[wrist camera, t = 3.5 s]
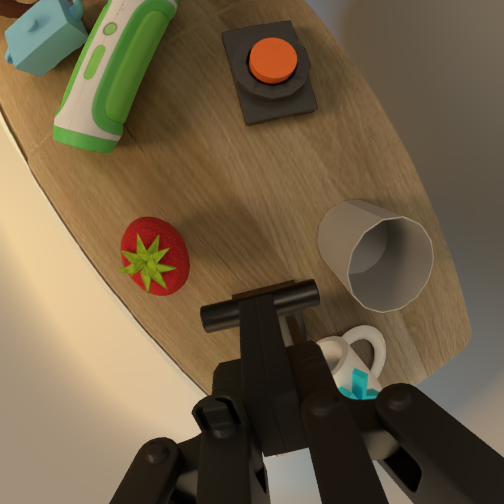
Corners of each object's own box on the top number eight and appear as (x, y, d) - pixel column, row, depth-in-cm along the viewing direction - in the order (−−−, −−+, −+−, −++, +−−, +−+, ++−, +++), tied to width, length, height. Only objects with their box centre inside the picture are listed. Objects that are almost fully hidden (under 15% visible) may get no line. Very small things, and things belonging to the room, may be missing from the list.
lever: (198, 294, 17) (200, 332, 15) (309, 266, 16) (323, 302, 15) (251, 386, 26) (255, 410, 25) (316, 369, 26) (323, 393, 25)
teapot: (102, -7, 24) (77, -35, 17) (118, 24, 25) (93, -3, 18) (24, 53, 25) (-11, 39, 18) (36, 86, 26) (-2, 76, 19)
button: (244, 49, 24) (245, 41, 22) (286, 42, 24) (290, 34, 22) (255, 87, 26) (256, 82, 24) (298, 79, 26) (302, 73, 24)
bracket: (231, 295, 35) (230, 372, 22) (293, 279, 35) (325, 349, 22) (249, 352, 37) (256, 438, 24) (306, 338, 37) (335, 418, 24)
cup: (378, 275, 35) (419, 312, 26) (312, 271, 35) (338, 312, 25) (391, 203, 33) (441, 222, 23) (323, 194, 32) (357, 210, 23)
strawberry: (161, 282, 34) (136, 327, 25) (128, 222, 32) (88, 248, 23) (208, 260, 34) (197, 300, 24) (174, 196, 32) (149, 213, 22)
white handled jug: (373, 447, 31) (325, 403, 28) (333, 418, 39) (284, 373, 36) (430, 373, 34) (396, 315, 31) (384, 356, 42) (346, 303, 39)
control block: (222, 39, 27) (220, 25, 23) (287, 27, 27) (294, 12, 23) (246, 126, 30) (247, 121, 26) (312, 112, 30) (323, 106, 26)
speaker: (131, -1, 25) (110, -32, 17) (189, 9, 26) (178, -25, 18) (71, 138, 29) (33, 136, 22) (126, 155, 30) (96, 155, 23)
